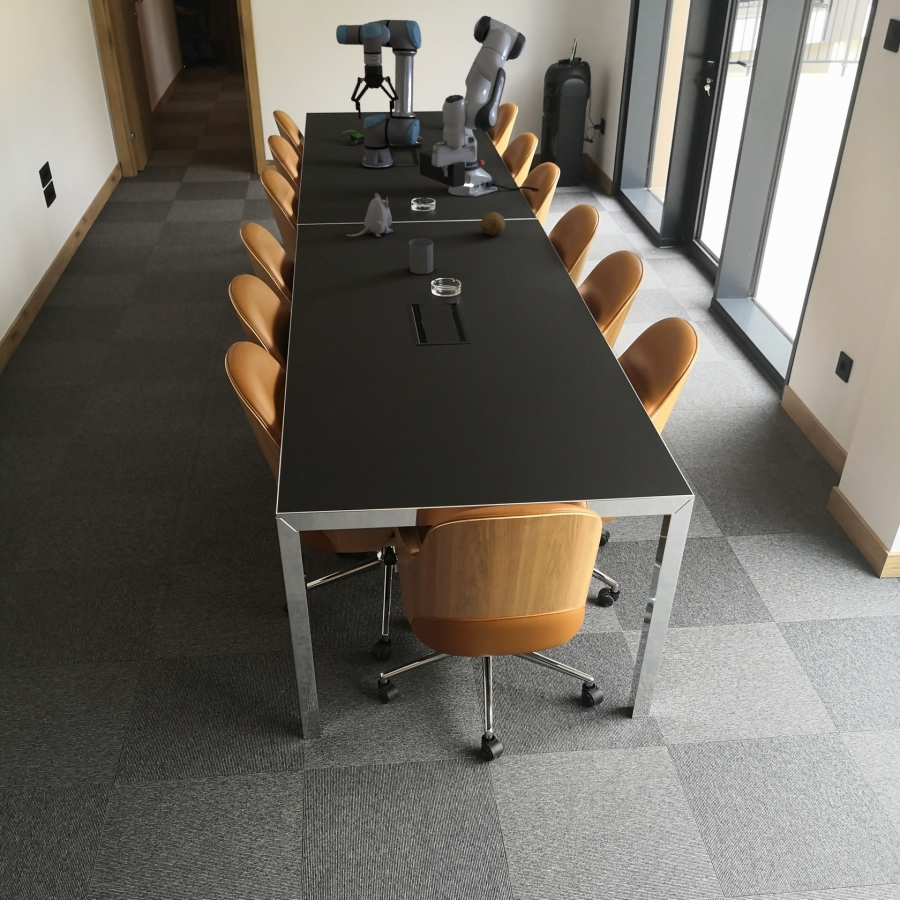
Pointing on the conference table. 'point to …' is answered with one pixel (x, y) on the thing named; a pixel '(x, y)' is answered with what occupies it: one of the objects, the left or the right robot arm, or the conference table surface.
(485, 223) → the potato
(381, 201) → the toy
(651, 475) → the conference table surface
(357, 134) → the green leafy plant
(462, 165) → the bar
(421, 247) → the cup
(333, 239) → the conference table surface
